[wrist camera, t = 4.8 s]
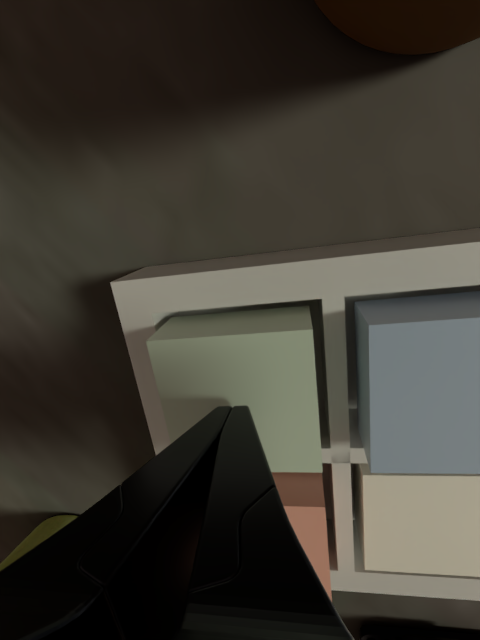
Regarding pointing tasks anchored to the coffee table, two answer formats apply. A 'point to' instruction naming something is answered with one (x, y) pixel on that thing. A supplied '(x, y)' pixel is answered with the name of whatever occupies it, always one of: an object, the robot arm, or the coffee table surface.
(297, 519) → the key coral
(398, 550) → the key cream
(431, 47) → the mug
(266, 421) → the key sage
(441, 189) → the coffee table surface
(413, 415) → the key slate
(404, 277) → the keypad
